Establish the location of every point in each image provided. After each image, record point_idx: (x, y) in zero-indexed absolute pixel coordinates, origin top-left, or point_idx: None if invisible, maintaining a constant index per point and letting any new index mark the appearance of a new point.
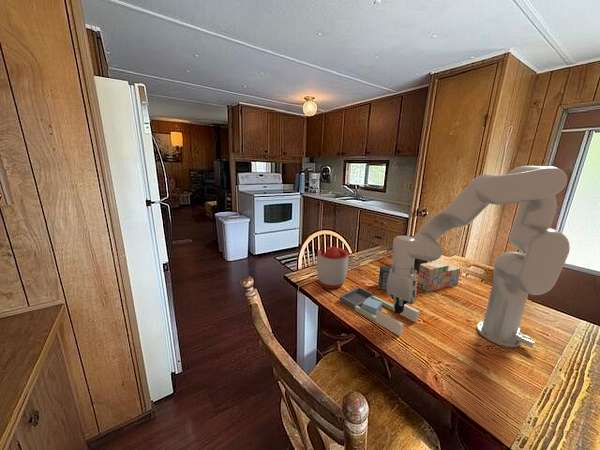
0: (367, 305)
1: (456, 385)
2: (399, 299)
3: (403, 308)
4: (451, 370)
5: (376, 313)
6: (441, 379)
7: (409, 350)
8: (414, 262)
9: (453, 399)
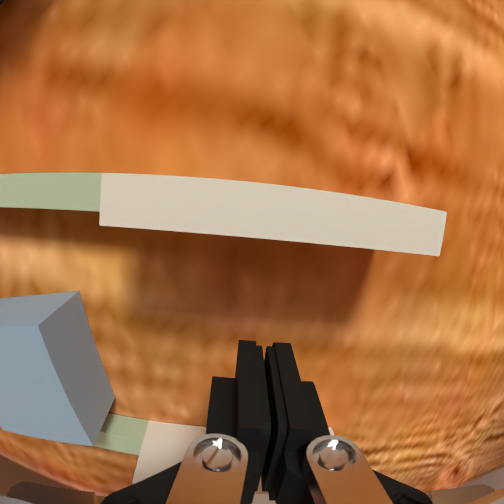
0: (31, 435)
1: (496, 444)
2: (244, 477)
3: (318, 408)
4: (500, 416)
5: (103, 406)
6: (468, 462)
7: (384, 467)
8: None
9: (478, 475)
